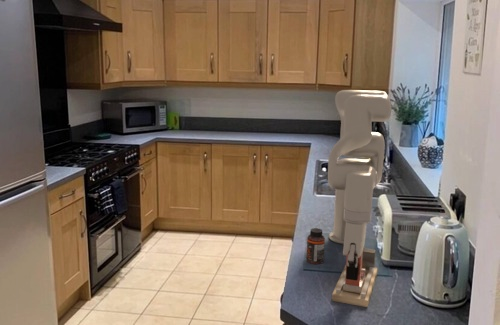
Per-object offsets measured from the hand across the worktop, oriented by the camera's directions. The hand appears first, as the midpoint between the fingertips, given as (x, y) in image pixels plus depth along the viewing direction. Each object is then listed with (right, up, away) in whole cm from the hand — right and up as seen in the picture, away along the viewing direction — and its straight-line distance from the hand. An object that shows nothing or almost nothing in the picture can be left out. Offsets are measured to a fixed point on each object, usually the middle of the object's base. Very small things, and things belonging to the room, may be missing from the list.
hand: (353, 274), depth 141 cm
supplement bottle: (-8, -2, +27) cm, 28 cm away
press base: (+3, -6, +8) cm, 10 cm away
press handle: (+1, -4, +3) cm, 5 cm away
